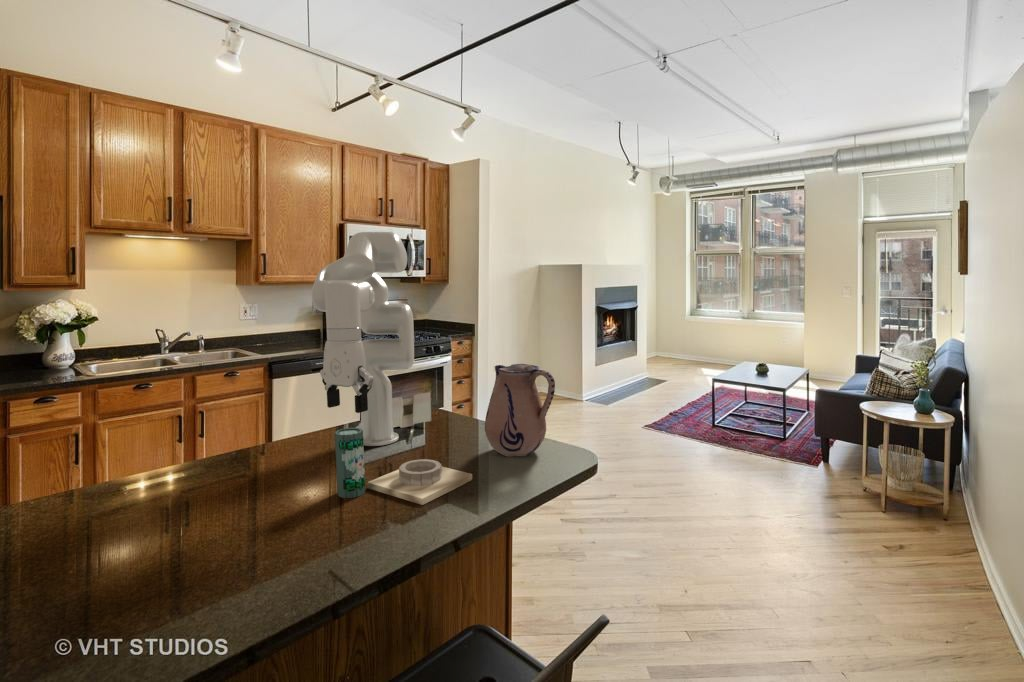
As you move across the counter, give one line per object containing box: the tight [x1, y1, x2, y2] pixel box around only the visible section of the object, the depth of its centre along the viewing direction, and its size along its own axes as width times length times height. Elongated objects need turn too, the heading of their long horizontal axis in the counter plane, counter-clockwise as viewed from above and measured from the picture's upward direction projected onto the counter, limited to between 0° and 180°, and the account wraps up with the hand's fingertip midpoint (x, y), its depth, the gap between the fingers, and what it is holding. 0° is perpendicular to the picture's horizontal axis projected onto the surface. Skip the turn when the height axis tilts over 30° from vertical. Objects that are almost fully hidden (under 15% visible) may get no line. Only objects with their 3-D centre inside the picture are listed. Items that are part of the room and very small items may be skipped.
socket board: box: [367, 458, 473, 506], centre depth 136 cm, size 18×18×4 cm
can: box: [334, 427, 366, 499], centre depth 130 cm, size 6×6×15 cm
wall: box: [392, 391, 432, 429], centre depth 193 cm, size 16×9×15 cm
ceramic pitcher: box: [484, 363, 556, 457], centre depth 158 cm, size 18×21×25 cm
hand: (347, 409), depth 128 cm, fingers open, 9 cm apart
